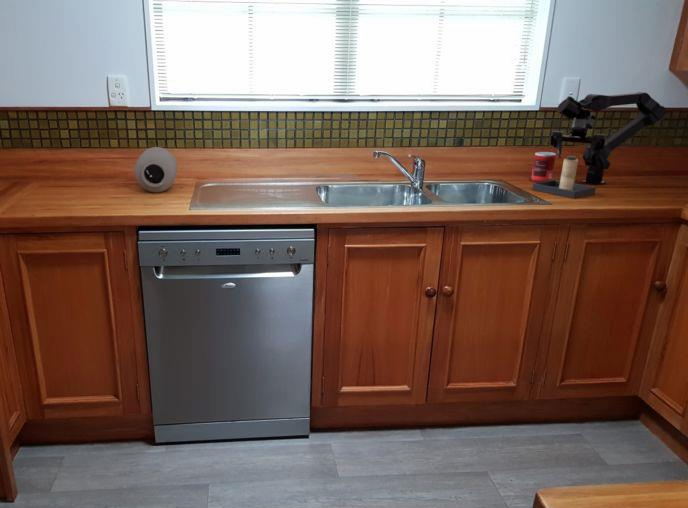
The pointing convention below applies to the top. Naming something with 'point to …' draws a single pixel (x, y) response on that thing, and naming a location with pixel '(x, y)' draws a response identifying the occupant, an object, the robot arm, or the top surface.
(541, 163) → the canned food
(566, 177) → the pepper mill
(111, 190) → the top surface
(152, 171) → the grey egg shaped device
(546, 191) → the tray
